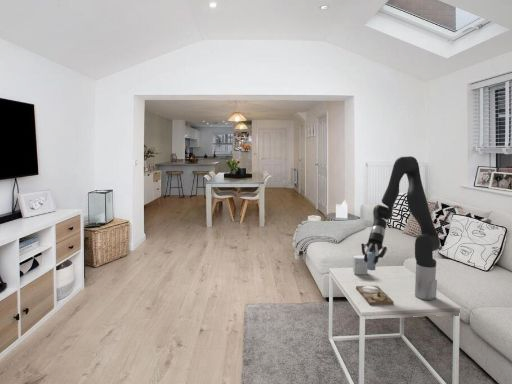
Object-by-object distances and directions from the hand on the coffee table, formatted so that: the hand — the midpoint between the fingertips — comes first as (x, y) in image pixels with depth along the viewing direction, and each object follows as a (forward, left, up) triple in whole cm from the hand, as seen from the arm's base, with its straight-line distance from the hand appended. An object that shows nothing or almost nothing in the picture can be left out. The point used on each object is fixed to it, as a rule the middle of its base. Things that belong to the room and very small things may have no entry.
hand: (370, 262), depth 176 cm
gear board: (-4, +2, -17) cm, 18 cm away
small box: (+21, -22, -17) cm, 35 cm away
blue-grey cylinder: (+1, -2, -4) cm, 5 cm away
